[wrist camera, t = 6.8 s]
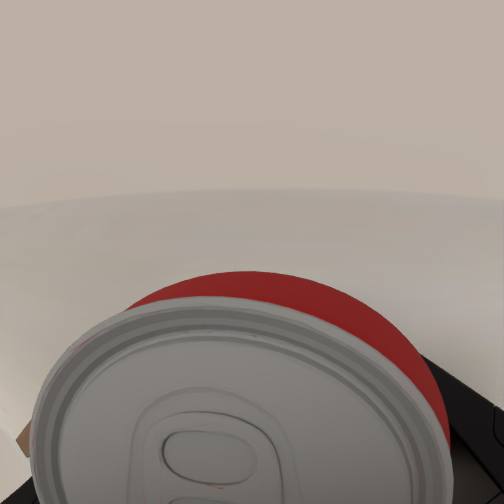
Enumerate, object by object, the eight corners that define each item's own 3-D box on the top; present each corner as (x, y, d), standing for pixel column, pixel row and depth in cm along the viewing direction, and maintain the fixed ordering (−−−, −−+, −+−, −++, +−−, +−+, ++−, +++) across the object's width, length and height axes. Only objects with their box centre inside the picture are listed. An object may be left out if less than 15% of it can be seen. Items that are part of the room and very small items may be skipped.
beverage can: (214, 458, 13) (49, 594, 2) (212, 327, 15) (6, 249, 4) (355, 457, 12) (438, 636, 1) (353, 321, 14) (493, 211, 3)
